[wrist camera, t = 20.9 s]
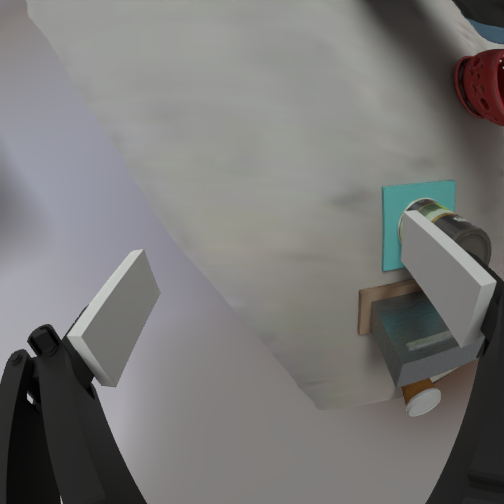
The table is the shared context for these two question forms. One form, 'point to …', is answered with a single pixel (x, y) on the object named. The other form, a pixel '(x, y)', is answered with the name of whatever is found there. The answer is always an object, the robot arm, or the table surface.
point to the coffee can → (451, 227)
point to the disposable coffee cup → (420, 397)
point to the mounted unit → (411, 332)
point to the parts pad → (393, 207)
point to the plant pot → (482, 85)
